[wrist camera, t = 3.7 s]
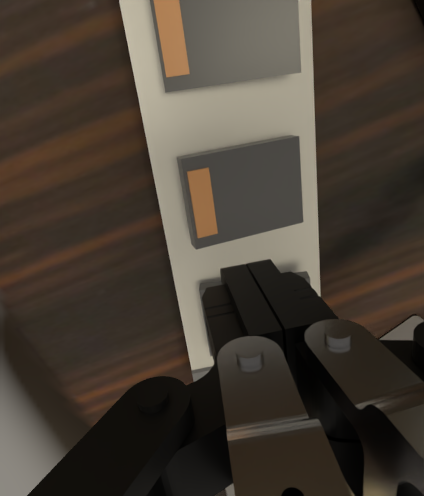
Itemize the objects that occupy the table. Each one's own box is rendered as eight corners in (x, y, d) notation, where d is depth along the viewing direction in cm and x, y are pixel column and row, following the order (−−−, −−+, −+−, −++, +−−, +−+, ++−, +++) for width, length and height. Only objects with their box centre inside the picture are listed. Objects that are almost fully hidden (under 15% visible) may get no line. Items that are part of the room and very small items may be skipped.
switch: (297, 73, 20) (301, 72, 19) (168, 92, 21) (165, 92, 20) (292, -46, 18) (296, -54, 17) (148, -21, 19) (144, -27, 18)
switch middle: (295, 218, 25) (304, 222, 24) (191, 244, 23) (196, 250, 22) (290, 135, 23) (300, 136, 22) (176, 156, 21) (181, 159, 20)
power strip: (308, 341, 33) (324, 367, 30) (192, 365, 32) (196, 395, 29) (286, -107, 21) (309, -142, 18) (103, -88, 20) (95, -121, 17)
